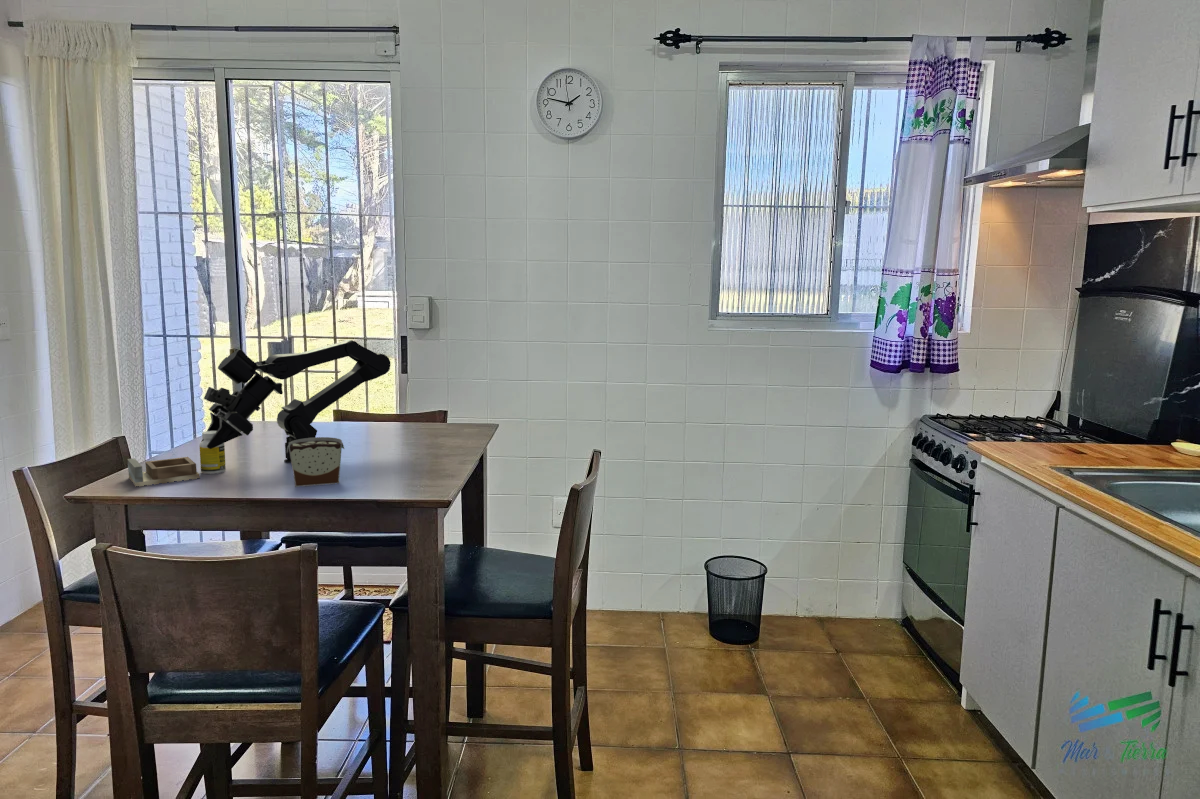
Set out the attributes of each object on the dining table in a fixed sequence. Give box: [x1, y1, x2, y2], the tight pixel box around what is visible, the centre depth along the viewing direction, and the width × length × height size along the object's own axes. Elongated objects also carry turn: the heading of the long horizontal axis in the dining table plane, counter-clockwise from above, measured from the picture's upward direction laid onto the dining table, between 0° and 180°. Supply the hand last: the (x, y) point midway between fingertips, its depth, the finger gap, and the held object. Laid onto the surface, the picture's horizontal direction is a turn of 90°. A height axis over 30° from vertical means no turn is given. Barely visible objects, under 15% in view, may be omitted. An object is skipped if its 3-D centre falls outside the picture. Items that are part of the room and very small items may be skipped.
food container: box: [287, 436, 345, 488], centre depth 180 cm, size 12×6×10 cm, turn 111°
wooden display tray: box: [127, 456, 201, 487], centre depth 182 cm, size 13×10×4 cm
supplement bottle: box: [199, 430, 227, 475], centre depth 188 cm, size 5×5×10 cm
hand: (205, 445), depth 187 cm, fingers open, 6 cm apart
